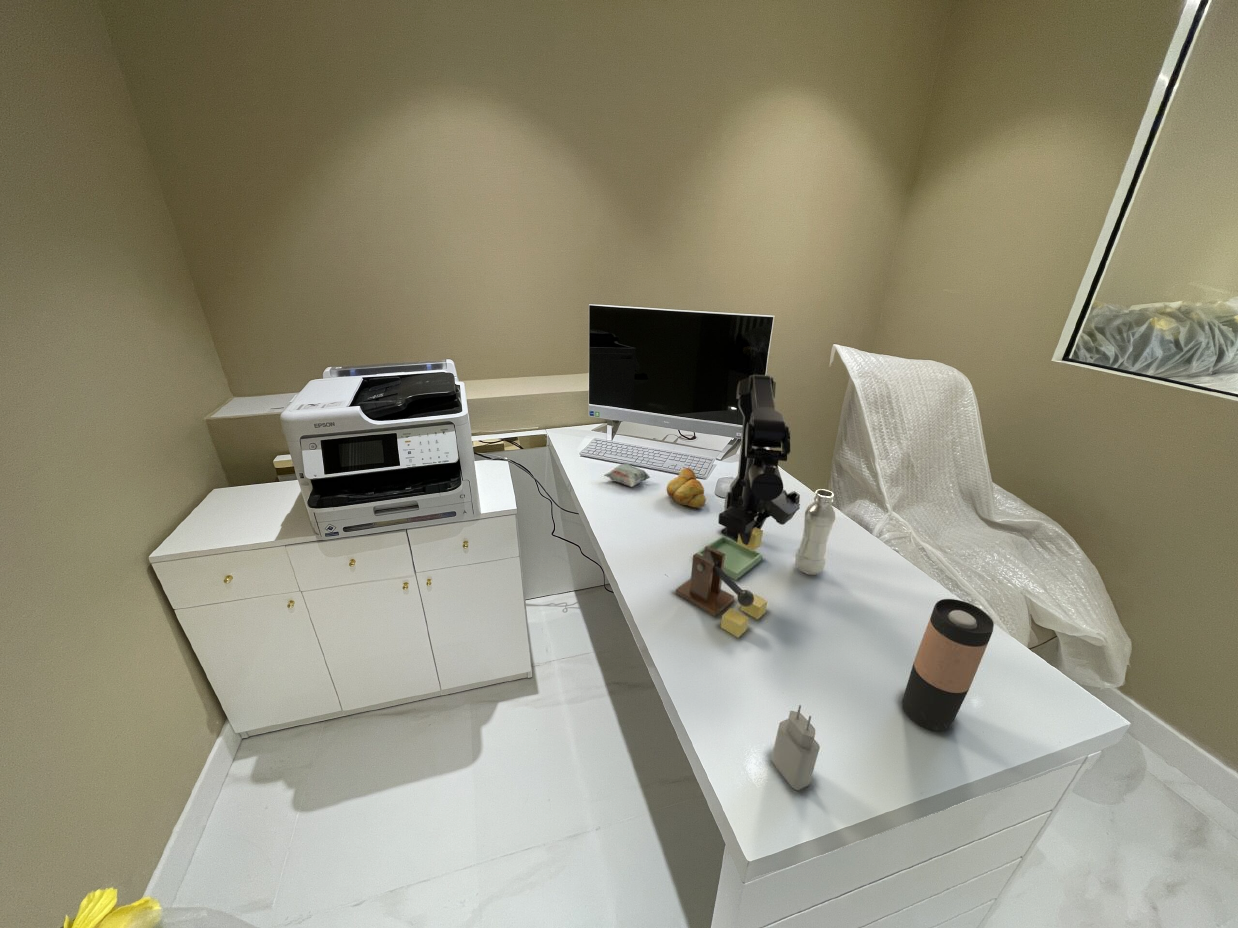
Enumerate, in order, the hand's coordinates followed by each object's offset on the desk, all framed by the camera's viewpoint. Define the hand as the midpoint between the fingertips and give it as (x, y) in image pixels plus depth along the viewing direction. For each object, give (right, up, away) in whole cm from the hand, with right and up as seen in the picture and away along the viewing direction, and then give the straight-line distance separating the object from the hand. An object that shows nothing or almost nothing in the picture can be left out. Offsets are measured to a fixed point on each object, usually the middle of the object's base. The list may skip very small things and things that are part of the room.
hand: (749, 541), depth 109 cm
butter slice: (0, -1, 0) cm, 1 cm away
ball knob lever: (-7, -8, -7) cm, 13 cm away
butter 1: (-6, -15, -11) cm, 20 cm away
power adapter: (-4, -27, -37) cm, 46 cm away
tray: (-2, -6, +10) cm, 12 cm away
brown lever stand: (-10, -11, -3) cm, 16 cm away
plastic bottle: (+16, -8, +7) cm, 19 cm away
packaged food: (-26, +11, +47) cm, 54 cm away
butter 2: (-1, -13, -6) cm, 15 cm away
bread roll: (-9, +6, +37) cm, 38 cm away
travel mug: (+22, -24, -27) cm, 42 cm away
